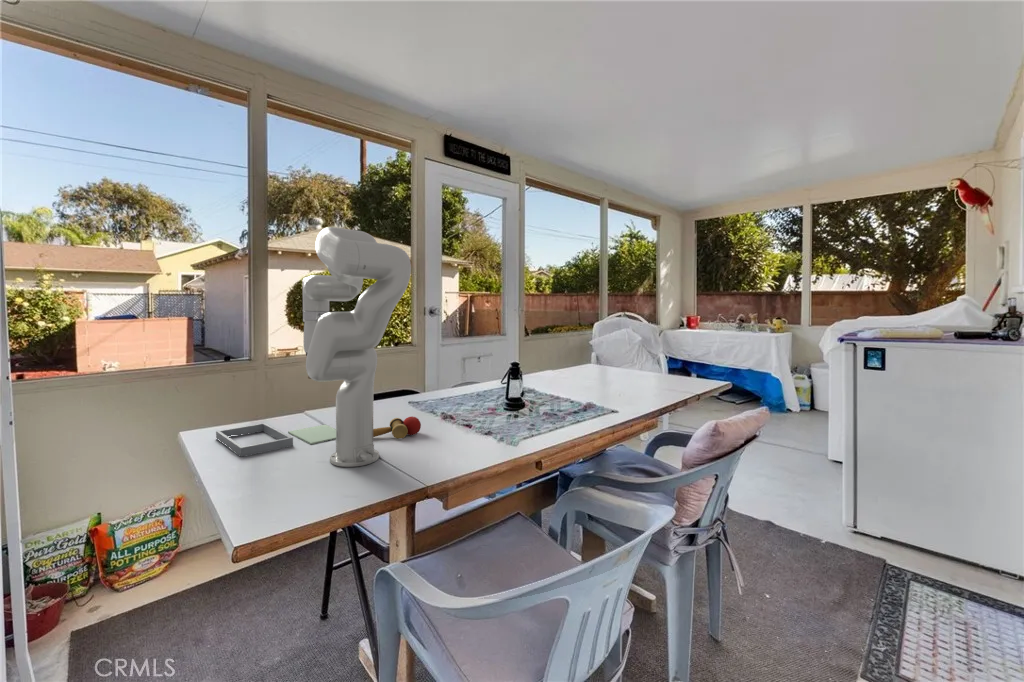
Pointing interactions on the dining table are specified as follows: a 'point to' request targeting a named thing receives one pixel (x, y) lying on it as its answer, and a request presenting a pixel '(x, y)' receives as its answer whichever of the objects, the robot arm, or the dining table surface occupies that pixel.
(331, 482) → the dining table surface
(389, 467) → the dining table surface
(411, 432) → the kendama
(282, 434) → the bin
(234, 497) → the dining table surface
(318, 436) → the pad
